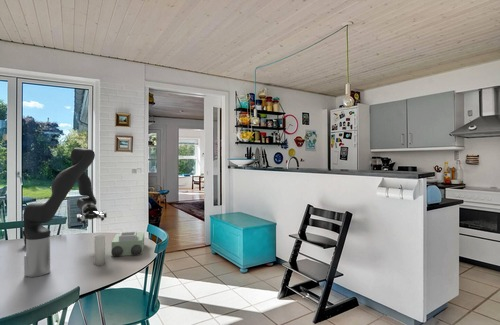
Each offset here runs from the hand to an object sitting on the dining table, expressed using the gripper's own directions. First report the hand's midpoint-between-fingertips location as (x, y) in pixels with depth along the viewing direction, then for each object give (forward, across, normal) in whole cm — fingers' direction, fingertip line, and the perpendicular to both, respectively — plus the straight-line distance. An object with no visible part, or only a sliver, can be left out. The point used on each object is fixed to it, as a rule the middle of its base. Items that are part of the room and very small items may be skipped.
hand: (93, 220), depth 157 cm
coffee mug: (-47, -30, +28) cm, 62 cm away
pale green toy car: (-4, +18, +24) cm, 30 cm away
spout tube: (+10, +1, +20) cm, 23 cm away
